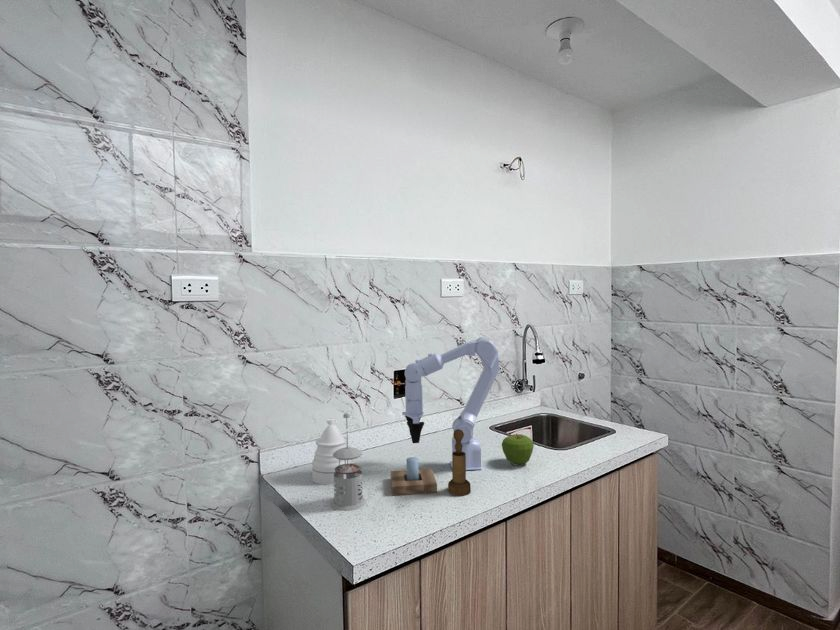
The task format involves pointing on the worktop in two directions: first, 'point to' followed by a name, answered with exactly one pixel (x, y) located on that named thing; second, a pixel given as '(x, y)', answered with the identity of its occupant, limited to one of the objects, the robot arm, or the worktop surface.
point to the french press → (347, 479)
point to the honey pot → (328, 454)
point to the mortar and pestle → (459, 469)
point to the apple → (517, 449)
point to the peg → (412, 469)
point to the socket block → (413, 483)
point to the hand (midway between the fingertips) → (414, 439)
